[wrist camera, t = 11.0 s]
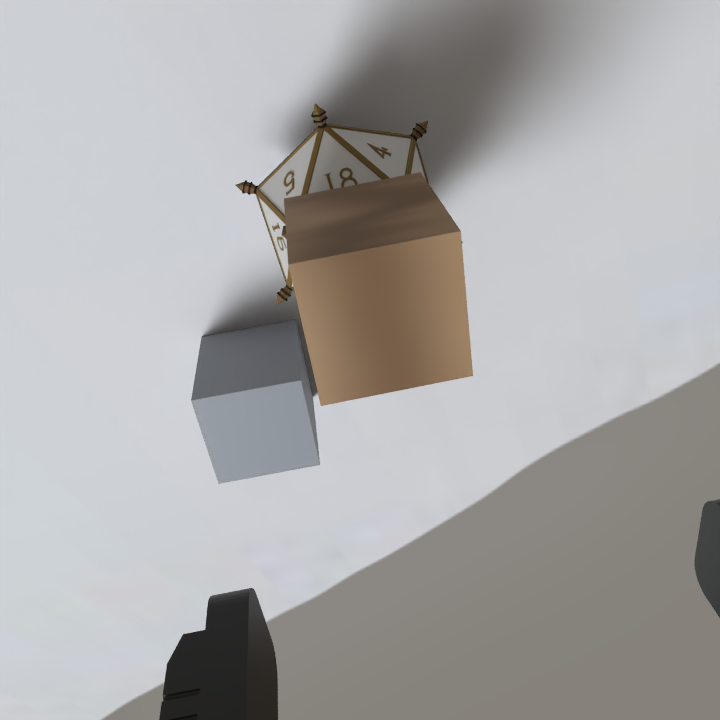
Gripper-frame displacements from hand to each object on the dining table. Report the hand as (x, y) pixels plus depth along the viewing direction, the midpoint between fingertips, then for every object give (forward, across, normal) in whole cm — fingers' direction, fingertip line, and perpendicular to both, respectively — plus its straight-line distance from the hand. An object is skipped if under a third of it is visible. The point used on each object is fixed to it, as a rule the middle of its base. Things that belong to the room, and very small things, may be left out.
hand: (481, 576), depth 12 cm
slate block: (+24, +6, +9) cm, 26 cm away
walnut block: (+16, 0, 0) cm, 16 cm away
